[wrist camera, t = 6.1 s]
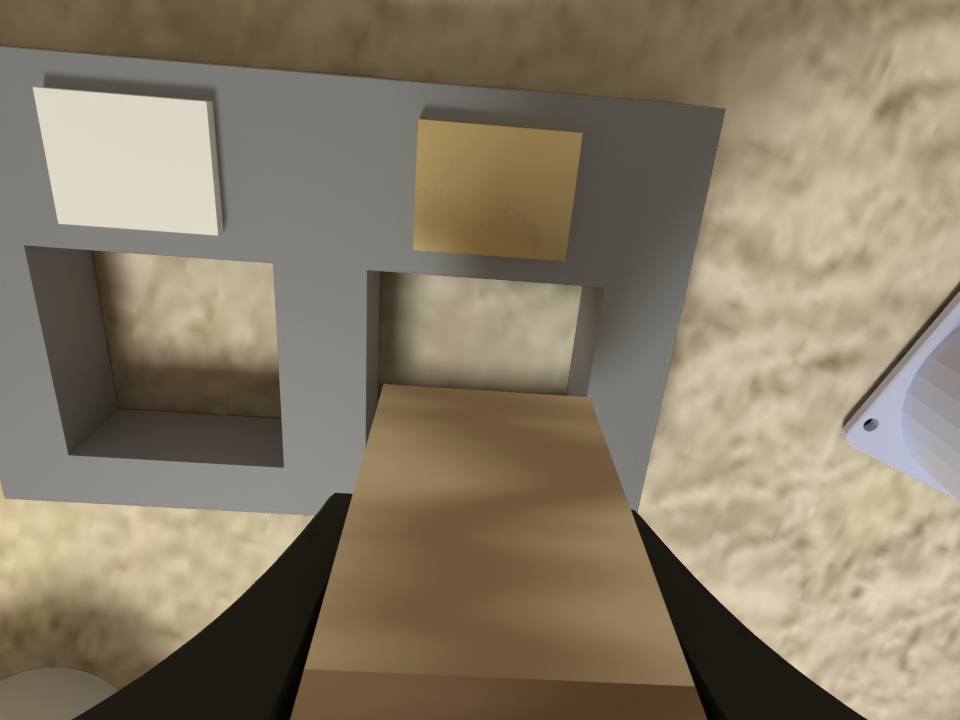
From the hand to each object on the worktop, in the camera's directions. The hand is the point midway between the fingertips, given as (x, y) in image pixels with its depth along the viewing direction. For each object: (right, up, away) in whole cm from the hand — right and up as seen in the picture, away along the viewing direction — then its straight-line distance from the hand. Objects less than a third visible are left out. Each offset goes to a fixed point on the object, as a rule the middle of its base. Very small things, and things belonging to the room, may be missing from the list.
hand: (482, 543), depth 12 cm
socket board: (-5, +6, +8) cm, 11 cm away
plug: (0, +1, +2) cm, 3 cm away
